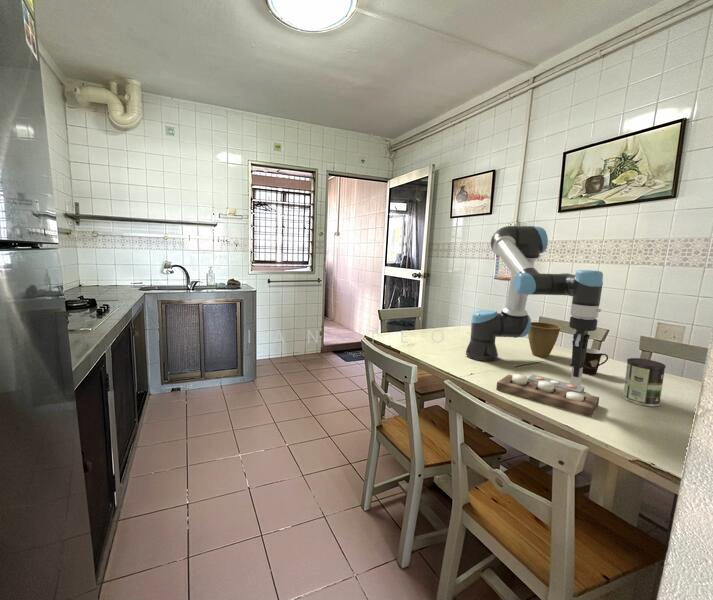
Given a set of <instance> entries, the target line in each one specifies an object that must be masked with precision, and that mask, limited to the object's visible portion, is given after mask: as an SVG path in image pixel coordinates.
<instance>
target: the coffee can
mask: <svg viewBox="0 0 713 600" xmlns="http://www.w3.org/2000/svg"><path fill="white" fill-rule="evenodd" d="M626 359H627V360H626V361H627V364H626V372H625V378H624V379H625V380H624V387H623V394H622V397H623V398H624V399H625V400H626V401H628V402H631V403H633V404H637V405H641V406H646V407H659V406H660V405H661V399H662V398H661V397H662V389H663V385H664V384H663V382H664V376H665V369H666V364H664V363H663V362H659V361H656V360H652V359H648V358H637V357H634V358H632V357H631V358H626Z"/></svg>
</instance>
